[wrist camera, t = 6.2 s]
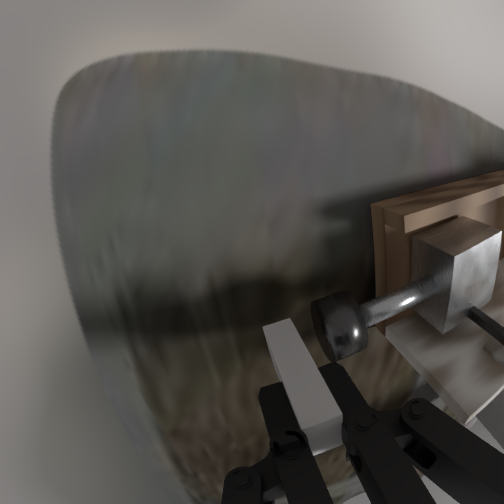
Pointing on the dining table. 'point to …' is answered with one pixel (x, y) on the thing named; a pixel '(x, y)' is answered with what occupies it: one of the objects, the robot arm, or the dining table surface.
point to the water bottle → (494, 418)
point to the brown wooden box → (414, 325)
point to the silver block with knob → (422, 289)
